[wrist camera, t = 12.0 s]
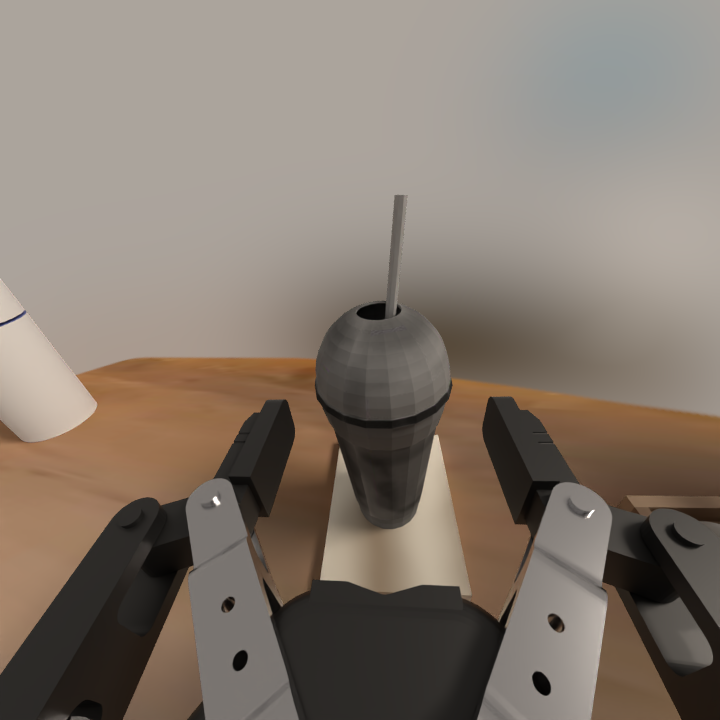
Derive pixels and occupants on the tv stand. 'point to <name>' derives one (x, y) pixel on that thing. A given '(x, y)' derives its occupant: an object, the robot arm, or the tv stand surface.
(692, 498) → the marble tray
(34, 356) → the cylindrical container
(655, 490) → the tv stand surface
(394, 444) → the beverage cup
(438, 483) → the ash board
